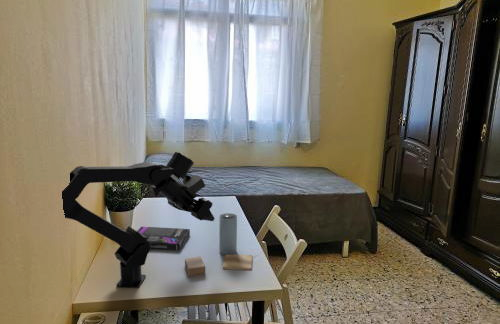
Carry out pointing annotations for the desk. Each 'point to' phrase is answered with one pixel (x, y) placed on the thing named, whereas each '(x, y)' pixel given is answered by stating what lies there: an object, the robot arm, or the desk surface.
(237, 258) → the coaster
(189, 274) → the walnut block
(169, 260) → the desk surface
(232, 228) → the tumbler
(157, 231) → the box
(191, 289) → the desk surface
